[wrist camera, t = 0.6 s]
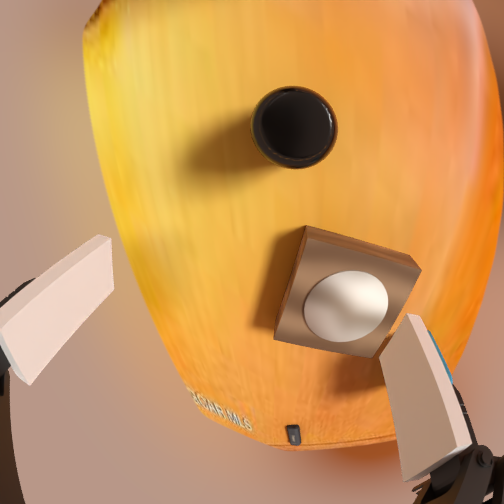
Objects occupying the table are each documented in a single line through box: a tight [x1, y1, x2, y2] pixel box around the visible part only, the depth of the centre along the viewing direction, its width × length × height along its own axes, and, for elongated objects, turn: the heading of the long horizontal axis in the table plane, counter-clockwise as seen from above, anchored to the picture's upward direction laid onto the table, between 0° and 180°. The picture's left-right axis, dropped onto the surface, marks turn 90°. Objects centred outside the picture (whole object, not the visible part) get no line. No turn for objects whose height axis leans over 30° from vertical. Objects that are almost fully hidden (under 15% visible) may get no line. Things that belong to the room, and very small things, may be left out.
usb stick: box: [287, 425, 301, 446], centre depth 49 cm, size 10×3×2 cm, turn 11°
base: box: [273, 225, 422, 358], centre depth 31 cm, size 14×14×4 cm
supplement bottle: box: [250, 86, 338, 169], centre depth 21 cm, size 7×7×12 cm
